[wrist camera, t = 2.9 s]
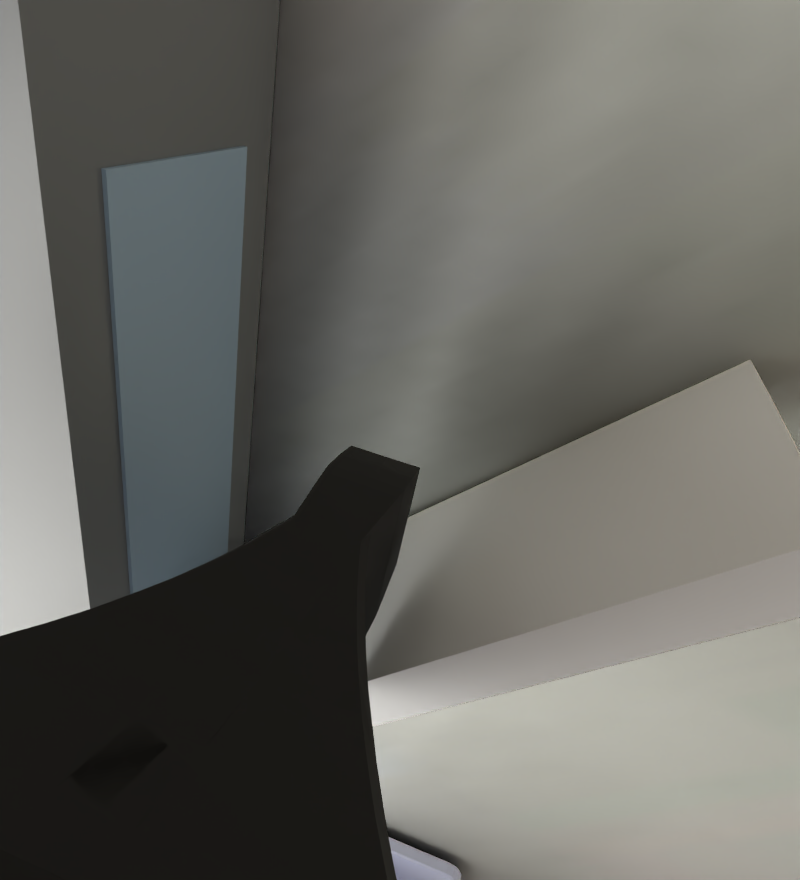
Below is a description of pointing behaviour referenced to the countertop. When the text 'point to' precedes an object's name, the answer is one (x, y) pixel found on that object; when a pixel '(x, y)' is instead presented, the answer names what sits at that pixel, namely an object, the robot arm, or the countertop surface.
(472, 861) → the countertop surface
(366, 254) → the countertop surface
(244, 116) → the camera body
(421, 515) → the side door
